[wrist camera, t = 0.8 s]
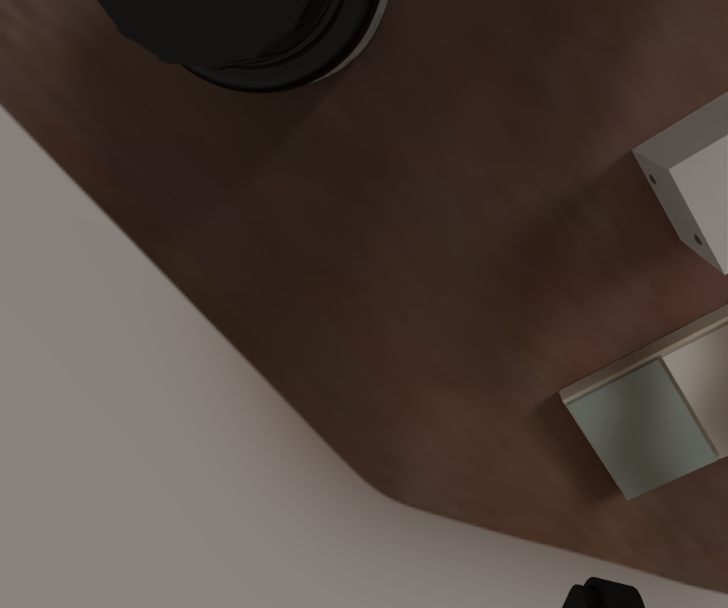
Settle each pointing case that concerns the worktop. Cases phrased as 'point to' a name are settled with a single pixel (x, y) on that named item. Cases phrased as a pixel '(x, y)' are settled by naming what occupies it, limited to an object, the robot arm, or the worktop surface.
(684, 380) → the board
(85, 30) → the worktop surface
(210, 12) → the ink bottle
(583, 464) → the worktop surface
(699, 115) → the die
